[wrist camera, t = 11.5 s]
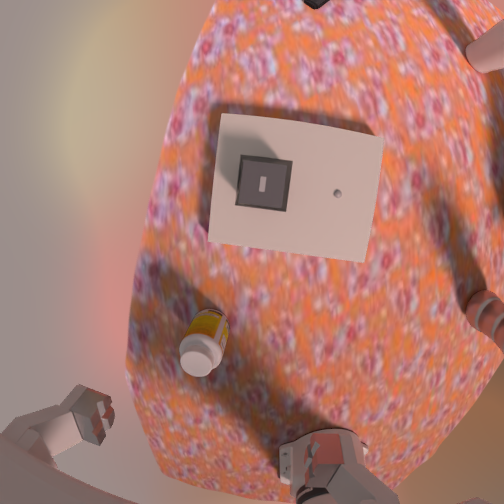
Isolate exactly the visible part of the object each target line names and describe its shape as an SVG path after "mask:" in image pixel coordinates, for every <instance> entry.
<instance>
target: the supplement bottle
mask: <svg viewBox="0 0 504 504" xmlns="http://www.w3.org/2000/svg"><path fill="white" fill-rule="evenodd" d="M229 331H230V324H229V321H228V319H227V318H226V316H225V315H224V314H222V313H221V312H219V311H217V310H213V309H205V310H202V311H200V312H199V313H197V314H196V316H195V317H194V319H193V321H192V323H191V325H190V326H189V328H188V330H187V332H186V334H185V336H184V338H183V340H182V342H181V344H180V347H179V353H180V356H181V358H180V364H181V367H182V368H183V370H184V371H185V372H187V373H188V374H190V375H192V376H195V377H203V376H206V375H208V374H209V373H210V372H211V370H212V369H214V368H216V367H217V366H218V365H219V364H220V362H221V360H222V356H223V353H224V349H225V346H226V342H227V339H228V335H229Z"/></svg>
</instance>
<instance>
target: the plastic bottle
mask: <svg viewBox="0 0 504 504" xmlns="http://www.w3.org/2000/svg"><path fill="white" fill-rule="evenodd" d="M466 318H467V320H468V322H469V323H470V325H471V326H472V327H473V328H475V329H476V330H478V331H480V332H482V333H484V334H485V335H486V336H488V337H489V338H491V339H492V340H493V341H494V342H495V343H496V345H497V346H498V347H499V348H500V349H501V351H502V352H503V354H504V303H503V302H502V301H501V300H500V298H499V297H498V296H497V295H496V294H495V293H493V292H491V291H488V290H482V291H479V292H477V293H476V294H474V295H473V296H472V297H471V299H470V300H469V302H468V304H467V307H466Z"/></svg>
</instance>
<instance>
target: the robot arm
mask: <svg viewBox="0 0 504 504" xmlns="http://www.w3.org/2000/svg"><path fill="white" fill-rule="evenodd" d="M111 403H112V400H111V397H110V396H108V395H106V394H103V393H101V392H98V391H95V390H93V389H90V388H88V387H85V386H83V385H80V384H79V385H77V386H76V387H75V388H74V389H73V390H72V391H71V392H70V394H69V395H68V396H67V397H66V399H65V400H64V401H63V402H62V403H61V404H60V406H58V405H54V406H52V407H48V408H45V409H42V410H39V411H36V412H33V413H30V414H27V415H23V416H20V417H16V418H15V419H14V420H13V421H12V422H11V423H10V424H9V425H8V426H7V428H6V429H5V430H4V431H3V432H2V433H1V434H0V504H138V503H135V502H132V501H129V500H126V499H123V498H121V497H118V496H115V495H112V494H110V493H108V492H105V491H103V490H100V489H98V488H95V487H93V486H91V485H89V484H86V483H84V482H82V481H80V480H78V479H75V478H74V477H72V476H69V475H67V474H65V473H64V472H62V471H60V470H57V468H58V467H57V464H56V463H55V461H54V460H53V458H52V456H54V455H56V454H58V453H60V452H62V451H64V450H66V449H68V448H70V447H72V446H73V445H75V444H77V443H79V442H81V441H82V439H83V440H86V441H88V442H91V443H93V444H96V445H99V446H100V445H101V443H102V442H103V440H104V438H105V437H106V434H105V431H106V430H108V429H110V428H111V426H112V425H113V422H114V417H115V414H114V409H113V408H112V407H111V406H110V404H111ZM367 452H368V446H367V445H365V444H363V443H361V441H360V439H359V437H358V436H357V435H356V434H355V433H353V432H351V431H348V430H343V429H325V430H320V431H316V432H312V433H309V434H307V435H305V436H303V437H301V438H299V439H298V440H296V441H294V442H291V443H287V444H284V445H281V446H280V447H279V462H280V481H281V482H282V483H284V484H288V485H290V495H291V496H293V497H295V498H296V504H400V503H399V499H398V495H397V494H396V493H394V492H393V491H392V490H391V489H390V488H389V487H387V486H386V485H385V484H384V483H383V482H382V481H380V480H379V479H378V478H377V477H376V476H375V475H373V474H372V473H371V472H370V471H369V470H368V469H367V468H366V465H365V457H364V456H365V455H366V454H367ZM457 504H492V503H490V502H488V501H486V500H484V499H481V498H477V497H476V498H471V499H468V500H466V501H463V502H461V503H457Z"/></svg>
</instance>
